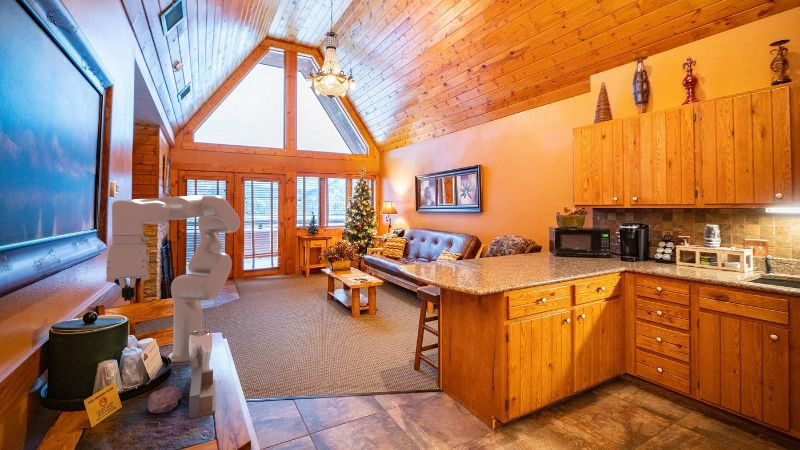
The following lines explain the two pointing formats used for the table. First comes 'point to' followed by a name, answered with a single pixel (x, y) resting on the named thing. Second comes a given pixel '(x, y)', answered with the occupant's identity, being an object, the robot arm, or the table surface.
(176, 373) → the table surface
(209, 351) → the beer glass
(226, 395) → the table surface
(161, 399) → the pink rounded lump
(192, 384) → the beige stepped bar
